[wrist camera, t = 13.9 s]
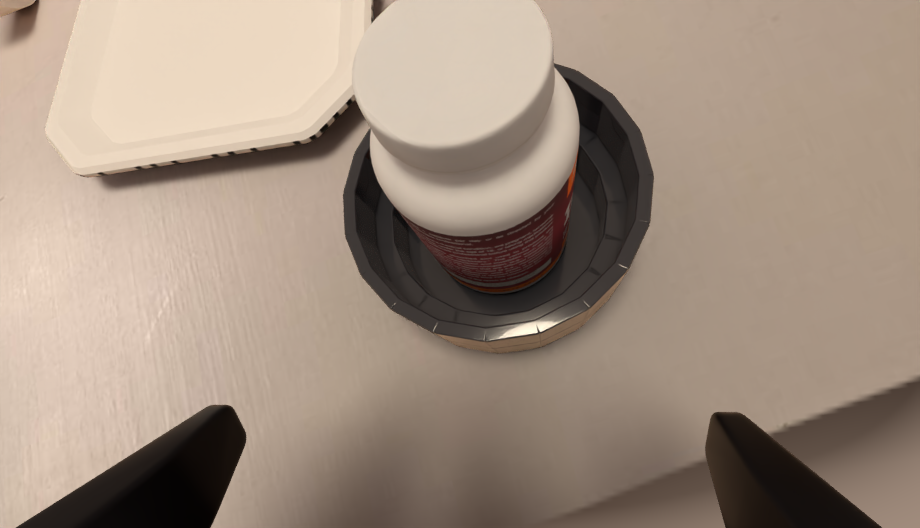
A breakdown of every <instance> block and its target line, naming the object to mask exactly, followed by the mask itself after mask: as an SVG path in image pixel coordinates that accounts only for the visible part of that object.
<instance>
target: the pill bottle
mask: <svg viewBox="0 0 920 528" xmlns="http://www.w3.org/2000/svg"><path fill="white" fill-rule="evenodd" d="M352 85H353V91H354V95H355V98H356V101H357V104H358V106H359V108H360V110H361V112H362V114H363V116H364V118H365V119H366V121H367V123H368V125H369V126H370V128H371V133H370V156H371V161H372V166H373V169H374V173H375V175H376V178H377V180H378V182H379V184H380V186H381V188H382V189H383V191H384V193H385V194H386V196H387V197H388V199H389V200H390V202H391V203H392V204H393V206H394V207H395V208H396V210H397V211H398V212H399V213H400V214H401V216H402V217H403V218H404V220H405V221H406V222H407V223H408V224H409V226H410V227H411V228H412V230H413V231H414V232H415V233H416V234H417V236H418V237H419V238H420V240H421V241H422V242H423V243H424V245H425V246H426V247H427V249H428V250H429V251H430V252H431V254H432V255H433V256H434V257H435V259H436V260H437V261H438V262H439V264H440V265H441V266H442V267H443V269H444V270H445V271H446V272H447V273H448V274H450V275H451V276H452V277H453V278H454V279H455V280H457V281H458V282H459V283H461V284H463V285H464V286H466V287H468V288H470V289H473V290H475V291H479V292H483V293H490V294H505V293H511V292H516V291H519V290H522V289H525V288H527V287H529V286H531V285H533V284H535V283H536V282H538V281H539V280H541V279H542V278H543V277H544V276H546V275H547V274H548V273H549V272H550V271H551V269H552V268H553V267H554V266H555V264H556V263H557V261H558V260H559V258H560V256H561V254H562V252H563V250H564V247H565V244H566V240H567V235H568V229H569V220H570V211H571V203H572V195H573V189H574V180H575V171H576V163H577V154H578V148H579V129H580V124H579V115H578V111H577V106H576V103H575V99H574V97H573V94H572V92H571V90H570V88H569V86H568V84H567V83H566V81H565V80H564V78H563V77H562V76H561V74H560V73H559V72H558V71H557V70H556V68H555V67H554V55H553V39H552V33H551V29H550V26H549V24H548V21H547V19H546V17H545V15H544V13H543V11H542V10H541V9H540V7H539V6H538V5H537V4H536V3H535V1H534V0H396V1H394V2H393V3H392V4H390V5H389V6H388V7H387V8H386V9H385V10H384V11H383V12H382V13H381V14H380V15H379V16H378V17H377V18H376V19H375V20H374V21H373V22H372V23H371V25H370V26H369V28H368V29H367V31H366V32H365V34H364V35H363V37H362V39H361V41H360V43H359V46H358V48H357V51H356V54H355V57H354V61H353V67H352Z"/></svg>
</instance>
